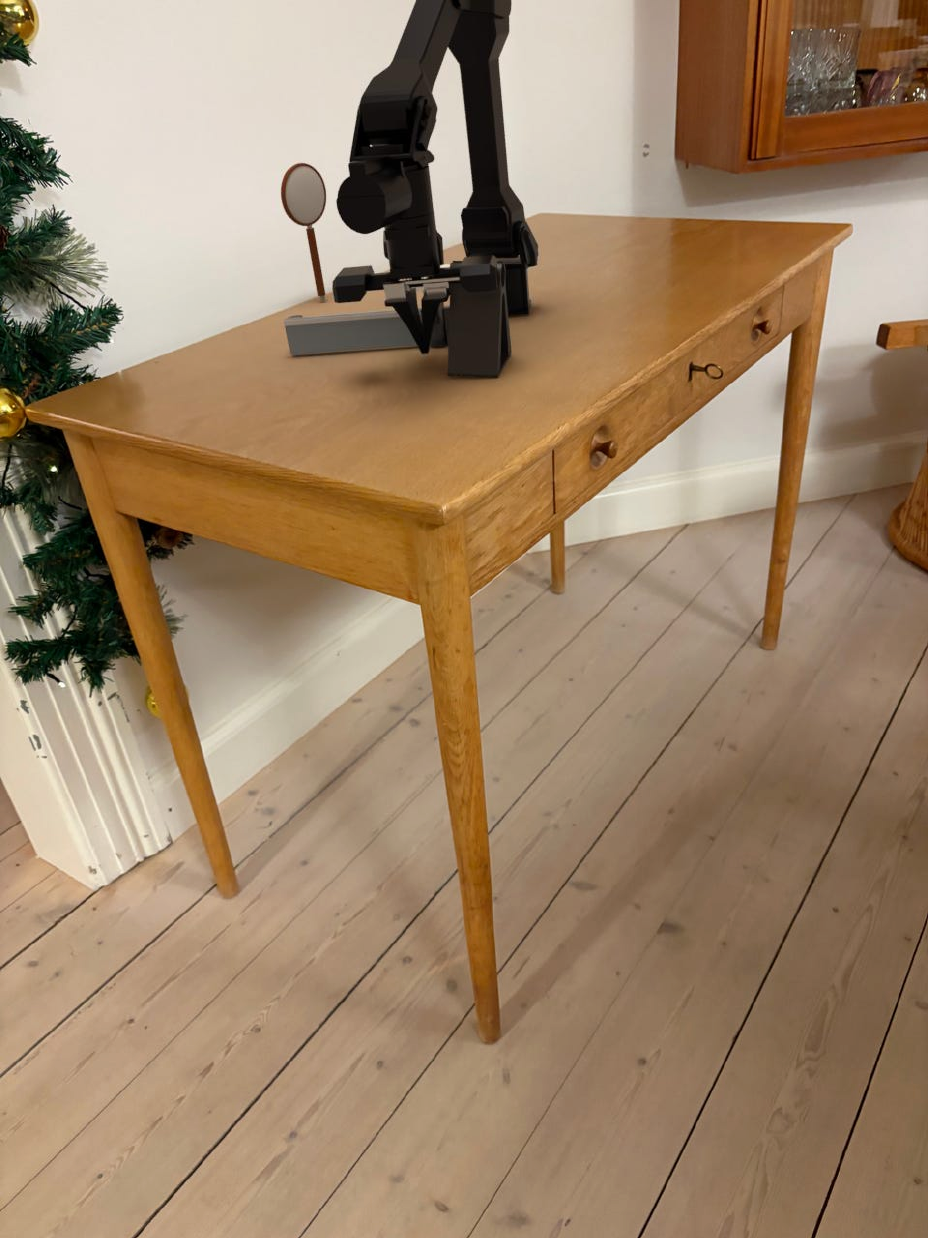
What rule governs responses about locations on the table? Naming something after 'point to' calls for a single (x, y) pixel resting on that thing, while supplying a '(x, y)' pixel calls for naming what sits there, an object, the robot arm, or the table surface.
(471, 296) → the phone stand
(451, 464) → the table surface
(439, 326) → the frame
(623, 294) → the table surface
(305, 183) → the magnifying glass
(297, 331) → the grey flat bar
